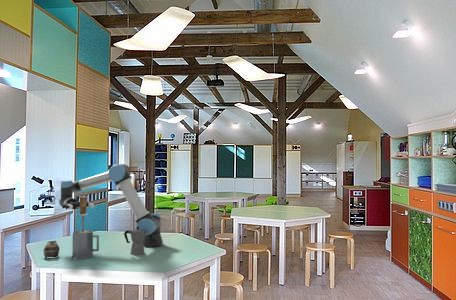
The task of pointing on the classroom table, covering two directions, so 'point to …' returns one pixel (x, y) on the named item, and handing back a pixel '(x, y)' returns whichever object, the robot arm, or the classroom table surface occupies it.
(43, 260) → the classroom table surface
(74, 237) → the press carafe
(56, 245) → the cupcake
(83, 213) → the plunger
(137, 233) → the coffeepot
